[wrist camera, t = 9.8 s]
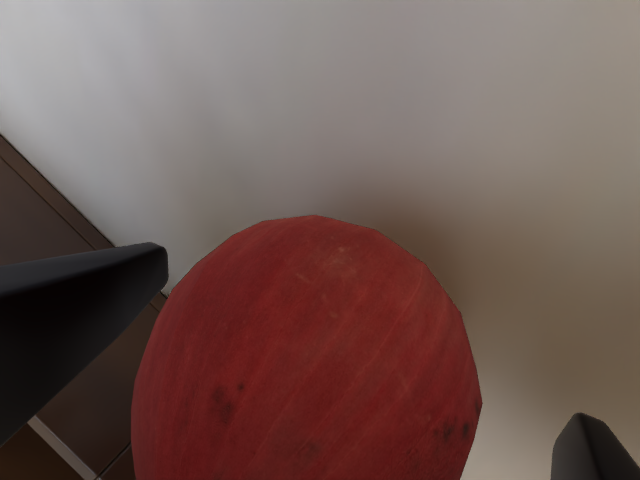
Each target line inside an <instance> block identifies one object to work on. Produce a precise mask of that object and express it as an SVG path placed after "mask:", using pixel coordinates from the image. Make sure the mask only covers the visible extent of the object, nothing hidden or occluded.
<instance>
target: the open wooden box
mask: <svg viewBox="0 0 640 480" xmlns="http://www.w3.org/2000/svg"><path fill="white" fill-rule="evenodd" d="M109 248H114V247H113V246H112V245H111V244H110V243H109V242H108V241H107V240H106V239H105V238H104V237H103V236H102V235H101V234H100V233H99V232H98V231H97V230H96V229H95V228H94V227H93V226H92V225H91V224H90V223H89V222H88V221H87V220H86V219H85V218H84V217H83V216H82V215H80V214H79V213H78V212H77V211H76V210H75V209H74V208H73V207H72V206H71V205H70V204H69V203H68V202H67V201H66V200H65V199H64V198H63V197H62V196H61V195H60V194H59V193H58V192H57V191H56V190H55V189H54V188H53V187H52V186H51V185H50V184H49V183H48V182H47V181H46V180H45V179H44V178H43V177H42V176H41V175H40V174H39V173H38V172H37V171H36V170H35V169H34V168H33V167H32V166H31V165H30V164H28V163H27V162H26V161H25V160H24V159H23V158H22V157H21V156H20V155H19V154H18V153H17V152H16V151H15V150H14V149H13V148H12V147H11V146H10V145H9V144H8V143H7V142H6V141H5V140H4V139H3V138H2V137H1V136H0V266H2V265H8V264H14V263H21V262H27V261H33V260H40V259H46V258H52V257H59V256H65V255H71V254H78V253H84V252H90V251H96V250H103V249H109ZM166 301H167V299H166V298H165V297H164V296H163V295H162V294H161V293H160V292H159V293H158V294H157V295H156V296H155V297H154V298H153V300H152V301H151V302H150V303H149V304H148V305H147V306H146V308H145V309H144V310H143V311H142V312H141V313H140V314H139V315H138V317H137V318H136V319H135V320H134V321H133V322H132V323H131V324H130V326H129V327H128V328H127V329H126V330H125V331H124V332H123V333H122V334H121V335H120V336H119V337H118V338H117V339H116V340H115V341H114V342H113V343H112V344H111V345H109V346H108V347H107V348H106V349H105V350H104V351H103V352H102V353H101V354H100V355H99V356H98V357H97V358H96V359H95V360H93V361H92V362H91V363H90V364H89V365H88V366H87V367H86V368H85V369H84V370H83V371H82V372H81V373H80V374H78V375H77V376H76V377H75V378H74V379H73V380H72V381H71V382H70V383H69V384H68V385H67V386H66V387H65V388H64V389H62V390H61V391H60V392H59V393H58V394H57V395H56V396H55V397H54V398H53V399H52V400H51V401H50V402H49V403H48V404H46V405H45V406H44V407H43V408H42V409H41V410H40V411H39V412H38V413H37V414H36V415H35V416H34V417H33V418H31V419H30V420H29V421H28V422H27V423H26V424H25V425H24V426H23V427H22V428H21V429H20V430H19V431H18V432H17V433H15V434H14V435H13V436H12V437H11V438H10V439H9V440H8V441H7V442H6V443H5V444H4V445H3V446H2V447H1V448H0V480H136V476H135V470H134V462H133V453H132V444H131V405H132V398H133V391H134V383H135V378H136V375H137V372H138V369H139V366H140V363H141V360H142V357H143V355H144V352H145V349H146V346H147V343H148V341H149V338H150V335H151V332H152V330H153V327H154V324H155V322H156V319H157V317H158V315H159V314H160V312H161V310H162V308H163V306H164V304H165V302H166Z"/></svg>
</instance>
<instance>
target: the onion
mask: <svg viewBox="0 0 640 480" xmlns="http://www.w3.org/2000/svg"><path fill="white" fill-rule="evenodd" d="M482 404H483V403H482V397H481V392H480V386H479V381H478V375H477V369H476V365H475V362H474V358H473V355H472V351H471V348H470V344H469V340H468V337H467V333H466V330H465V326H464V323H463V319H462V316H461V313H460V311H459V310H458V309H457V307H456V306H455V304H454V303H453V302H452V300H451V299H450V297H449V296H448V295H447V293H446V292H445V291H444V289H443V288H442V286H441V285H440V284H439V282H438V281H437V280H436V278H435V277H434V275H433V274H432V273H431V271H430V270H429V268H428V267H427V266H426V264H424V263H423V262H421V261H420V260H419V259H417V258H416V257H414V256H413V255H411V254H410V253H409V252H407V251H406V250H404V249H403V248H401V247H400V246H399V245H397V244H396V243H394V242H393V241H391V240H390V239H388V238H387V237H386V236H384V235H383V234H381V233H380V232H378V231H376V230H374V229H370V228H366V227H362V226H358V225H354V224H350V223H346V222H343V221H339V220H336V219H332V218H327V217H323V216H318V215H309V216H300V217H292V218H283V219H275V220H267V221H262V222H260V223H258V224H255V225H253V226H251V227H249V228H247V229H245V230H243V231H240V232H238V233H236V234H234V235H232V236H231V237H230V238H229V239H227V240H226V241H225V242H223V243H222V244H221V245H220V246H218V247H217V248H216V249H214V250H213V251H212V252H211V253H209V254H208V255H207V256H205V257H204V258H203V259H202V260H200V261H199V262H198V263H197V264H196V265H195V266H194V267H193V268H192V269H191V270H190V271H189V272H188V273H187V274H186V275H185V277H184V278H183V279H182V280H181V281H180V282H179V283H178V284H177V285H176V286H175V287H174V288H173V289H172V291H171V293H170V295H169V297H168V299H167V301H166V302H165V304H164V306H163V308H162V310H161V312H160V314H159V315H158V317H157V319H156V322H155V324H154V327H153V330H152V332H151V335H150V338H149V341H148V343H147V346H146V349H145V352H144V355H143V357H142V360H141V363H140V366H139V369H138V372H137V375H136V378H135V383H134V391H133V398H132V405H131V444H132V453H133V462H134V470H135V476H136V480H460V478H461V475H462V472H463V469H464V467H465V464H466V461H467V458H468V455H469V452H470V450H471V447H472V444H473V441H474V438H475V433H476V429H477V425H478V421H479V416H480V412H481V408H482Z"/></svg>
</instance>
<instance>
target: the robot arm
mask: <svg viewBox="0 0 640 480" xmlns="http://www.w3.org/2000/svg"><path fill="white" fill-rule="evenodd" d="M168 275H169V274H168V255H167V251H166V249H165V248H164V247H162V246H160V245H157V244H155V243H151V242H147V243H141V244H134V245H128V246H122V247H115V248H109V249H103V250H96V251H90V252H84V253H78V254H71V255H65V256H59V257H52V258H46V259H40V260H33V261H27V262H21V263H14V264H8V265H2V266H0V448H1V447H2V446H3V445H4V444H5V443H6V442H7V441H8V440H9V439H10V438H11V437H12V436H13V435H14V434H15V433H17V432H18V431H19V430H20V429H21V428H22V427H23V426H24V425H25V424H26V423H27V422H28V421H29V420H30V419H31V418H33V417H34V416H35V415H36V414H37V413H38V412H39V411H40V410H41V409H42V408H43V407H44V406H45V405H46V404H48V403H49V402H50V401H51V400H52V399H53V398H54V397H55V396H56V395H57V394H58V393H59V392H60V391H61V390H62V389H64V388H65V387H66V386H67V385H68V384H69V383H70V382H71V381H72V380H73V379H74V378H75V377H76V376H77V375H78V374H80V373H81V372H82V371H83V370H84V369H85V368H86V367H87V366H88V365H89V364H90V363H91V362H92V361H93V360H95V359H96V358H97V357H98V356H99V355H100V354H101V353H102V352H103V351H104V350H105V349H106V348H107V347H108V346H109V345H111V344H112V343H113V342H114V341H115V340H116V339H117V338H118V337H119V336H120V335H121V334H122V333H123V332H124V331H125V330H126V329H127V328H128V327H129V326H130V324H131V323H132V322H133V321H134V320H135V319H136V318H137V317H138V315H139V314H140V313H141V312H142V311H143V310H144V309H145V308H146V306H147V305H148V304H149V303H150V302H151V301H152V300H153V298H154V297H155V296H156V295H157V294H158V293H159V292H160V291H161V289H162V288H163V287H164V286H165V284H166V283H167V280H168ZM551 480H640V468H639V467H638V465H637V464H636V463H635V461H634V460H633V459H632V457H631V456H630V455H629V453H628V452H627V451H626V449H625V448H624V447H623V445H622V444H621V443H620V442H619V440H618V439H617V438H616V436H615V435H614V434H613V432H612V431H611V430H610V428H609V427H608V426H607V425H606V424H605V423H604V422H603V421H601V420H599V419H597V418H594V417H592V416H589V415H587V414H584V413H581V412H580V413H576V414H574V415H573V416H572V418H571V419H570V420H569V422H568V423H567V425H566V426H565V428H564V429H563V431H562V432H561V434H560V435H559V437H558V438H557V440H556V442H555V444H554V447H553V453H552V466H551Z"/></svg>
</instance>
